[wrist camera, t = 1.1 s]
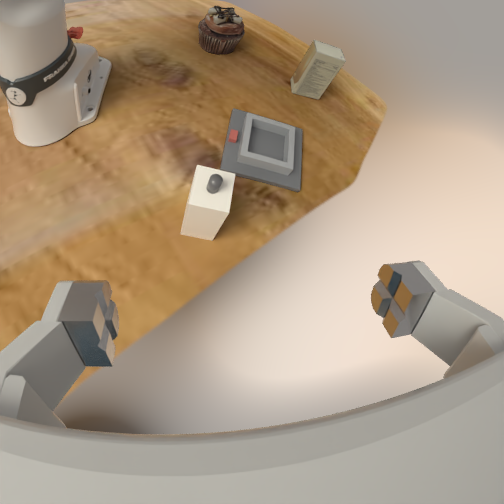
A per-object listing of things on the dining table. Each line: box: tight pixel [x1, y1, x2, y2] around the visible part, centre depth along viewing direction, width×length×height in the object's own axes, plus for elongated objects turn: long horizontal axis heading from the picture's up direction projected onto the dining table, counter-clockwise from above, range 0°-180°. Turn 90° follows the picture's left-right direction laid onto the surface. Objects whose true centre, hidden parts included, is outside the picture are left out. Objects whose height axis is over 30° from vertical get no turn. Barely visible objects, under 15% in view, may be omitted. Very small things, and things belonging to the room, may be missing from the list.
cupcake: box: [198, 6, 244, 55], centre depth 49 cm, size 10×10×10 cm
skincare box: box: [290, 40, 346, 99], centre depth 51 cm, size 6×4×12 cm
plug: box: [180, 165, 235, 240], centre depth 37 cm, size 5×4×12 cm
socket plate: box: [220, 108, 302, 192], centre depth 48 cm, size 13×13×3 cm
